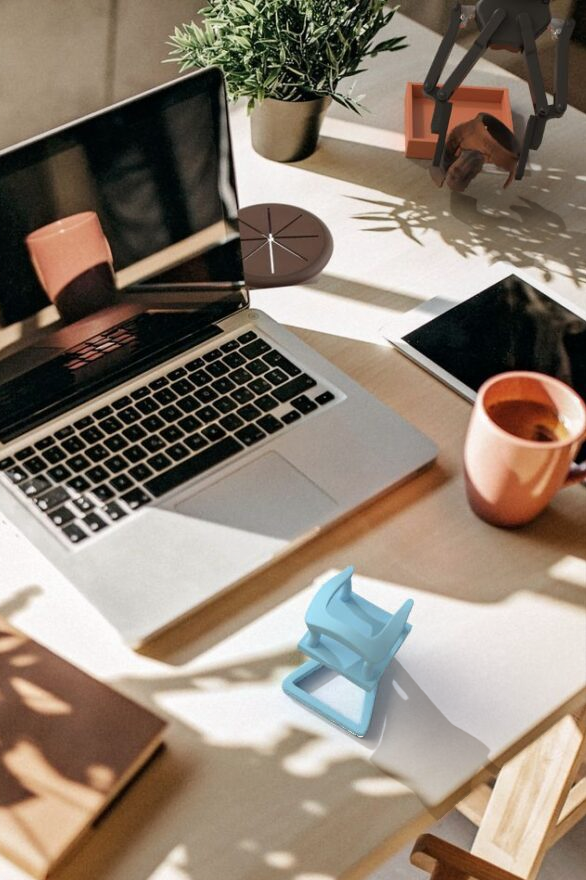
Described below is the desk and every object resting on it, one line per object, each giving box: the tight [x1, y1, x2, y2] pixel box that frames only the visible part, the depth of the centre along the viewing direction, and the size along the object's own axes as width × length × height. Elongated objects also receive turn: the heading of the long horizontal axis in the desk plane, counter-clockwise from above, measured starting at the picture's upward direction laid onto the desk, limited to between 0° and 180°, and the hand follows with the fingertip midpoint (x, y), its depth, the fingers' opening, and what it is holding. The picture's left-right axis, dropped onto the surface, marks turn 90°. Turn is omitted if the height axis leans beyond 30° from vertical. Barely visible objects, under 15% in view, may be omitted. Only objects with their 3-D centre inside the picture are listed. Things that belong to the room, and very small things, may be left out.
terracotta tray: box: [404, 81, 515, 164], centre depth 125 cm, size 13×13×2 cm
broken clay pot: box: [428, 112, 522, 193], centre depth 113 cm, size 12×10×8 cm
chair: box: [281, 565, 415, 737], centre depth 75 cm, size 8×8×12 cm
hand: (477, 170), depth 111 cm, fingers closed on broken clay pot, 9 cm apart
